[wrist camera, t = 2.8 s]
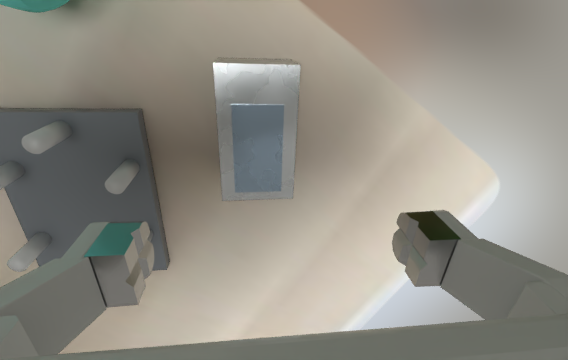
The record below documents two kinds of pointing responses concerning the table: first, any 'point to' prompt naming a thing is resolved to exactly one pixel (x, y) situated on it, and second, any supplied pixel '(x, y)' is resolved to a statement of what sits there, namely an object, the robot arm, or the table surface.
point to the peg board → (76, 177)
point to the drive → (256, 126)
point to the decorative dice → (34, 4)
